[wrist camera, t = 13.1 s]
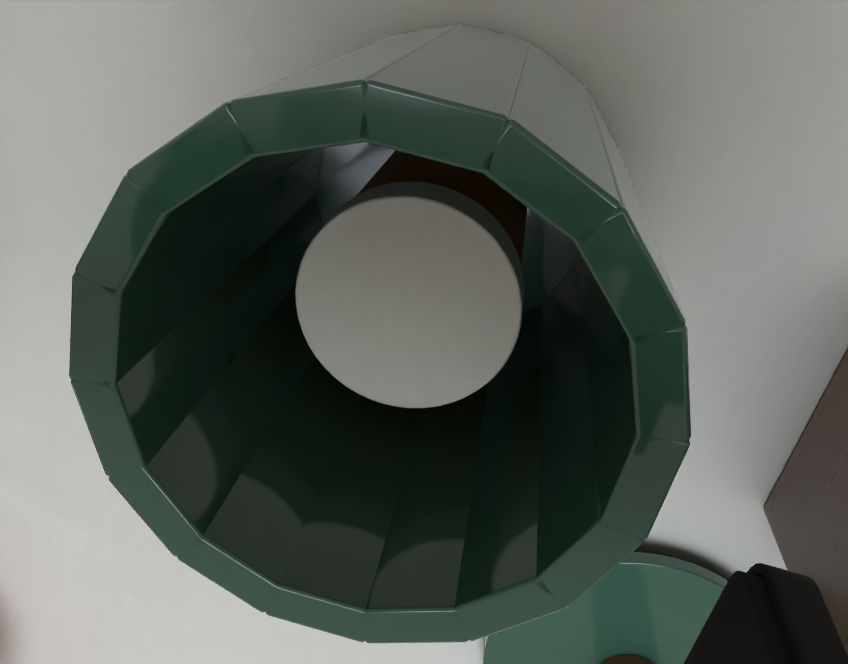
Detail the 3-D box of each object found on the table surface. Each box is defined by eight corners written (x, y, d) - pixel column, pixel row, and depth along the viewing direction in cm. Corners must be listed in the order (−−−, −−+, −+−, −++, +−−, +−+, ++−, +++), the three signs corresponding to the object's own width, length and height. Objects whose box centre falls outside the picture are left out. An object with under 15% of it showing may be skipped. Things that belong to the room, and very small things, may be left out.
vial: (551, 146, 22) (552, 232, 15) (506, 294, 24) (487, 434, 17) (391, 103, 22) (314, 167, 15) (360, 254, 24) (279, 375, 17)
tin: (669, 75, 21) (806, 195, 10) (562, 378, 25) (572, 705, 14) (325, -14, 21) (78, 3, 10) (276, 300, 26) (61, 557, 14)
